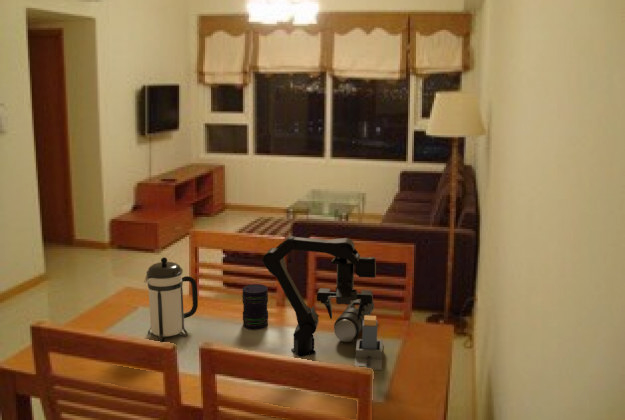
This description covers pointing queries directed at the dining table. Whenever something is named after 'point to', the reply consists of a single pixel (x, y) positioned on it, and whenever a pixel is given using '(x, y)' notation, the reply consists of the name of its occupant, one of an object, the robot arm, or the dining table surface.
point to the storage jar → (255, 306)
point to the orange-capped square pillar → (369, 333)
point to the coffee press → (168, 298)
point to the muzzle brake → (351, 321)
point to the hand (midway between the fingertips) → (344, 319)
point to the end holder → (369, 356)
